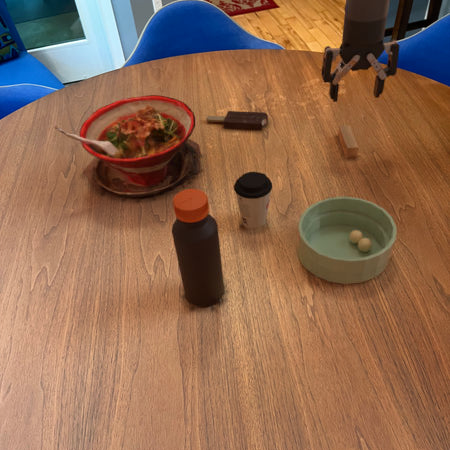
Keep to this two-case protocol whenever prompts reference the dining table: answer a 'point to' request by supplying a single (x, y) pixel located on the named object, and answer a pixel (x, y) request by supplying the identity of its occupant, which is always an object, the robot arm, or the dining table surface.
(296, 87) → the dining table surface
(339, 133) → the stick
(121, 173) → the stew
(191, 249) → the bottle
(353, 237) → the chickpea
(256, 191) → the coffee cup
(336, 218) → the bowl
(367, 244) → the chickpea
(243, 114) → the ice cream bar
